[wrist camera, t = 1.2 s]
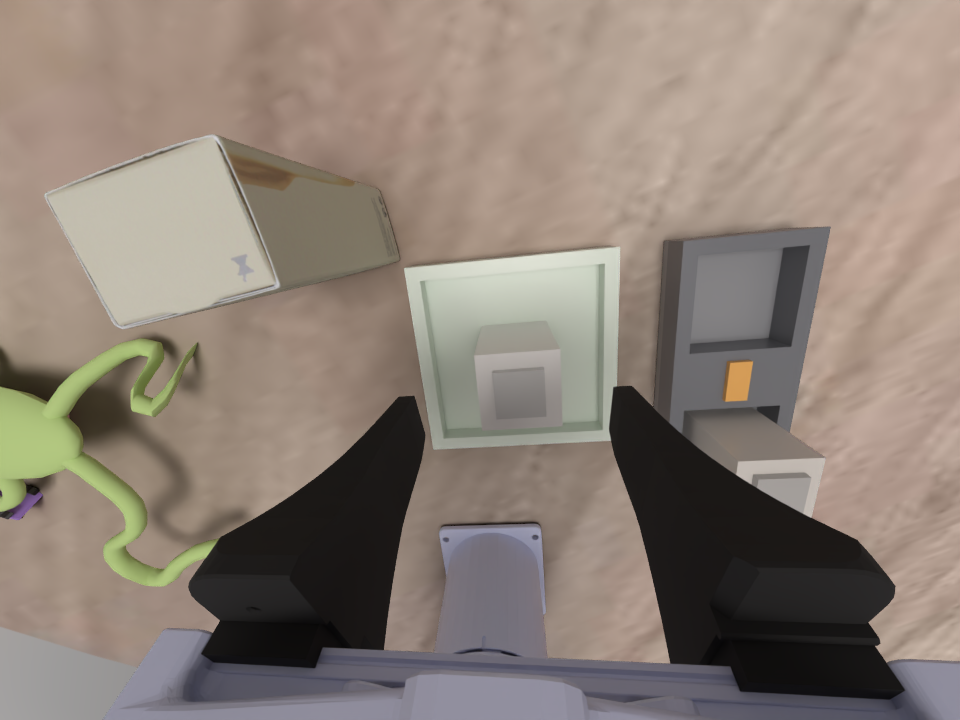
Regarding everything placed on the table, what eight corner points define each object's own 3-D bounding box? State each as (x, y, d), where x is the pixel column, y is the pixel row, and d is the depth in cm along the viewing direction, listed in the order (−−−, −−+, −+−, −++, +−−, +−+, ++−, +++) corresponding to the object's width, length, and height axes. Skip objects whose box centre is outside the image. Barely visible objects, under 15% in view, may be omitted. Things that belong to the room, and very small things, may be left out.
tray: (607, 426, 25) (615, 440, 23) (438, 435, 26) (433, 449, 24) (610, 246, 21) (620, 246, 19) (411, 265, 22) (404, 268, 20)
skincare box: (380, 186, 21) (225, 122, 9) (403, 261, 22) (291, 287, 10) (281, 215, 22) (26, 188, 10) (308, 285, 23) (110, 334, 11)
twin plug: (738, 456, 24) (816, 529, 18) (676, 459, 25) (732, 531, 19) (746, 403, 23) (833, 462, 17) (681, 407, 23) (743, 466, 17)
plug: (548, 380, 23) (563, 430, 17) (487, 384, 24) (481, 434, 18) (545, 320, 22) (561, 351, 16) (481, 325, 22) (473, 358, 16)
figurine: (259, 546, 31) (209, 609, 26) (-38, 494, 31) (-147, 546, 26) (245, 347, 25) (176, 376, 20) (-123, 285, 25) (-287, 297, 20)
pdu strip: (752, 469, 25) (780, 495, 23) (649, 473, 26) (665, 499, 23) (793, 227, 20) (835, 226, 17) (664, 240, 21) (686, 241, 18)
